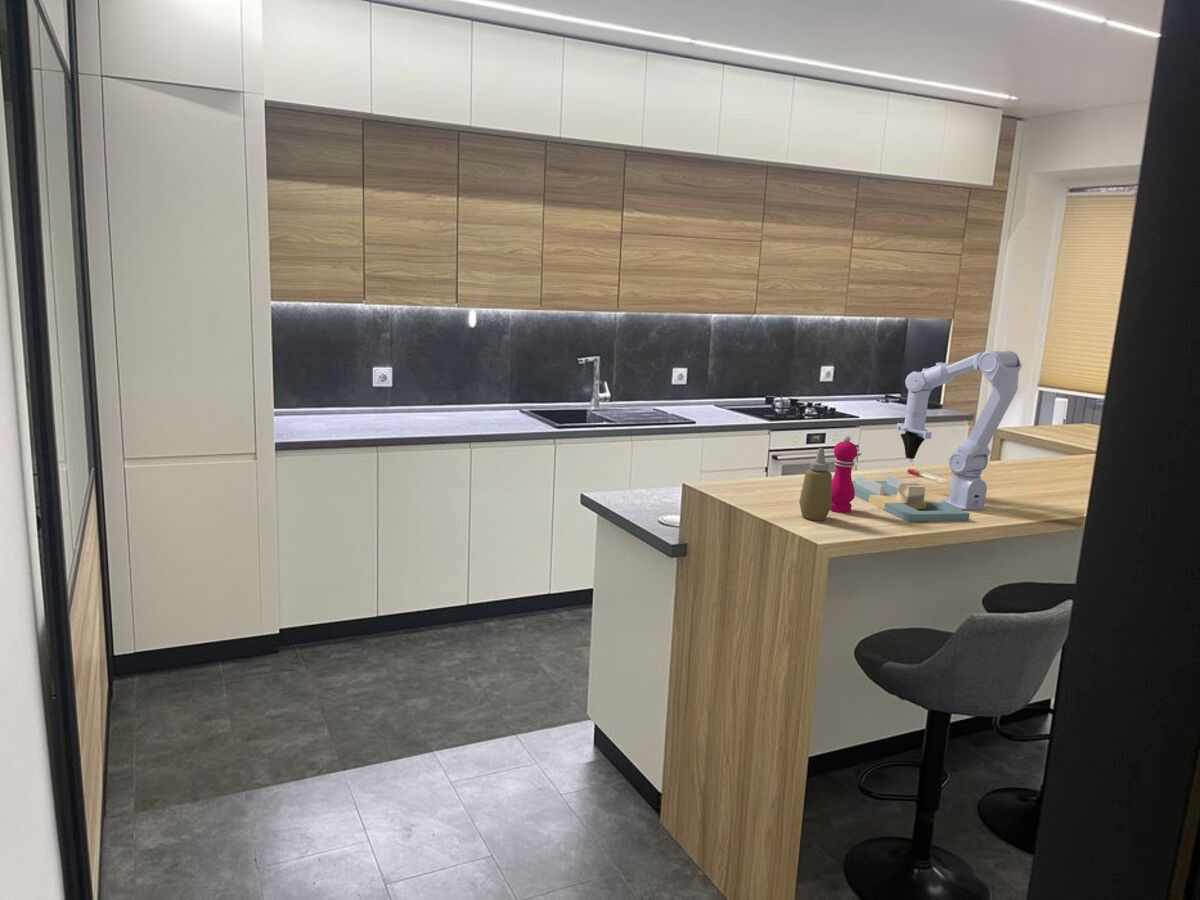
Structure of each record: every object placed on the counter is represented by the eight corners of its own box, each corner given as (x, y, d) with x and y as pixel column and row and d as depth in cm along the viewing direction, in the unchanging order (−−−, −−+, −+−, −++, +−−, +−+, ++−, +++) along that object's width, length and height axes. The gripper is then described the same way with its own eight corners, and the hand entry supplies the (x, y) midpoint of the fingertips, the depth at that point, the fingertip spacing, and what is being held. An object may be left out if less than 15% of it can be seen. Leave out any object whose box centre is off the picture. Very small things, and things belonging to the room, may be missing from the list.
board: (968, 520, 227) (971, 504, 226) (907, 521, 223) (910, 505, 222) (893, 487, 260) (895, 472, 259) (839, 487, 256) (841, 472, 255)
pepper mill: (833, 513, 226) (842, 438, 222) (819, 506, 233) (828, 433, 229) (858, 513, 228) (867, 438, 224) (843, 505, 235) (852, 433, 231)
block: (923, 502, 235) (925, 486, 234) (906, 503, 234) (909, 486, 233) (912, 498, 240) (914, 482, 239) (896, 498, 238) (898, 482, 238)
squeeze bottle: (791, 516, 221) (798, 447, 218) (808, 511, 227) (816, 444, 223) (819, 524, 216) (827, 453, 212) (836, 519, 221) (844, 450, 218)
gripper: (890, 408, 260) (884, 452, 263) (918, 416, 246) (912, 463, 249) (910, 408, 262) (905, 452, 265) (940, 417, 248) (933, 463, 251)
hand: (910, 458), depth 257 cm, fingers closed
